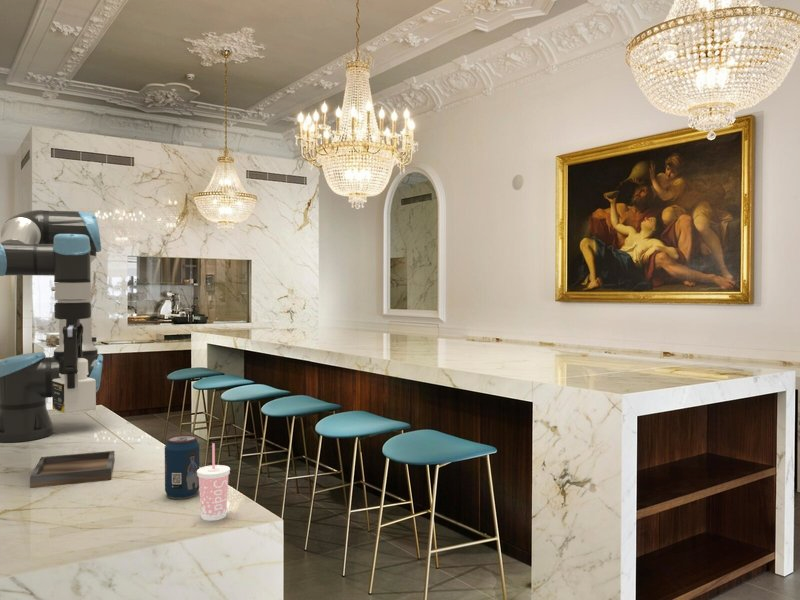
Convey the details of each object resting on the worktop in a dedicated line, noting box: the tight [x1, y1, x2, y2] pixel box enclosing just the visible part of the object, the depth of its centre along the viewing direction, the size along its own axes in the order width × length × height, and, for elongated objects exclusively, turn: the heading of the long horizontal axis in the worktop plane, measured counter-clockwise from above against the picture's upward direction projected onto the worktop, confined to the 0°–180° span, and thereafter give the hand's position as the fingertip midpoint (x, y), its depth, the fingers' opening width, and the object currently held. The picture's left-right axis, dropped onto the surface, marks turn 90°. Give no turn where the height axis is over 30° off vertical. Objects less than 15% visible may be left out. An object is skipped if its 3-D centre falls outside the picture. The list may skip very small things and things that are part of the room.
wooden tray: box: [29, 450, 116, 489], centre depth 150 cm, size 16×16×2 cm
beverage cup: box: [197, 442, 231, 521], centre depth 124 cm, size 6×6×14 cm
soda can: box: [164, 434, 201, 500], centre depth 136 cm, size 7×7×12 cm
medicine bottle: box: [52, 357, 97, 415], centre depth 150 cm, size 7×7×12 cm
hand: (74, 398), depth 150 cm, fingers closed on medicine bottle, 9 cm apart
